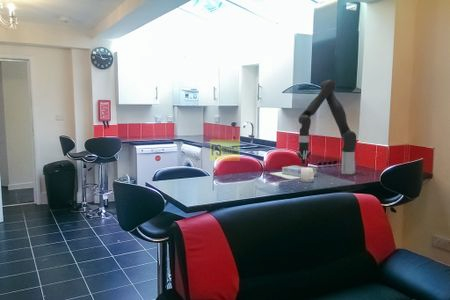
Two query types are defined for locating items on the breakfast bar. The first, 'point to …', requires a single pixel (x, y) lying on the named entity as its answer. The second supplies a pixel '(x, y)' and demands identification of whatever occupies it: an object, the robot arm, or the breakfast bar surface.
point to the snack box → (295, 170)
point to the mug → (307, 174)
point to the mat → (285, 175)
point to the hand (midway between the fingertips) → (303, 164)
